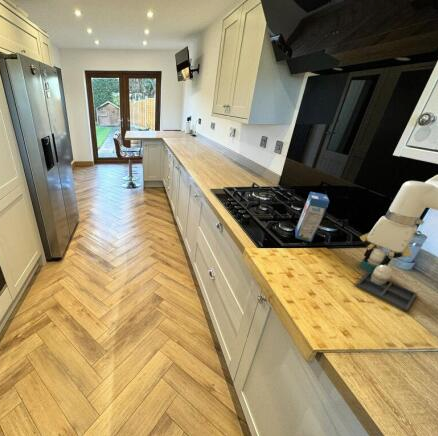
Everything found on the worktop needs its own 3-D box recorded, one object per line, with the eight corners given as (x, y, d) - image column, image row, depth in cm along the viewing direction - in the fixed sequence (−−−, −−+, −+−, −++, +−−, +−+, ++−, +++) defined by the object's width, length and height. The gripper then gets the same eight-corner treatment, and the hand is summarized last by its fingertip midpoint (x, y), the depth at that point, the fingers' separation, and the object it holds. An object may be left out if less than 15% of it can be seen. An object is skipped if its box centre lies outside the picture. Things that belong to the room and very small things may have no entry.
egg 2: (385, 283, 81) (396, 267, 78) (382, 288, 79) (393, 271, 76) (370, 276, 84) (380, 261, 81) (366, 280, 82) (376, 264, 79)
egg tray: (414, 297, 77) (417, 293, 76) (404, 313, 70) (407, 309, 70) (367, 275, 86) (369, 271, 85) (354, 287, 80) (356, 283, 79)
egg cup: (381, 271, 89) (386, 264, 87) (376, 277, 85) (381, 269, 84) (361, 263, 93) (366, 255, 91) (356, 268, 90) (360, 260, 88)
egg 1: (381, 266, 88) (390, 250, 84) (377, 270, 85) (387, 254, 82) (367, 260, 91) (376, 245, 88) (363, 263, 88) (372, 248, 85)
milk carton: (311, 242, 105) (329, 201, 96) (295, 238, 107) (311, 198, 98) (309, 233, 113) (326, 194, 104) (295, 229, 115) (310, 191, 106)
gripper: (439, 225, 75) (407, 271, 83) (373, 207, 87) (351, 248, 95) (434, 231, 71) (402, 278, 79) (366, 210, 83) (344, 253, 91)
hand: (374, 261), depth 87 cm, fingers closed on egg 1, 4 cm apart
